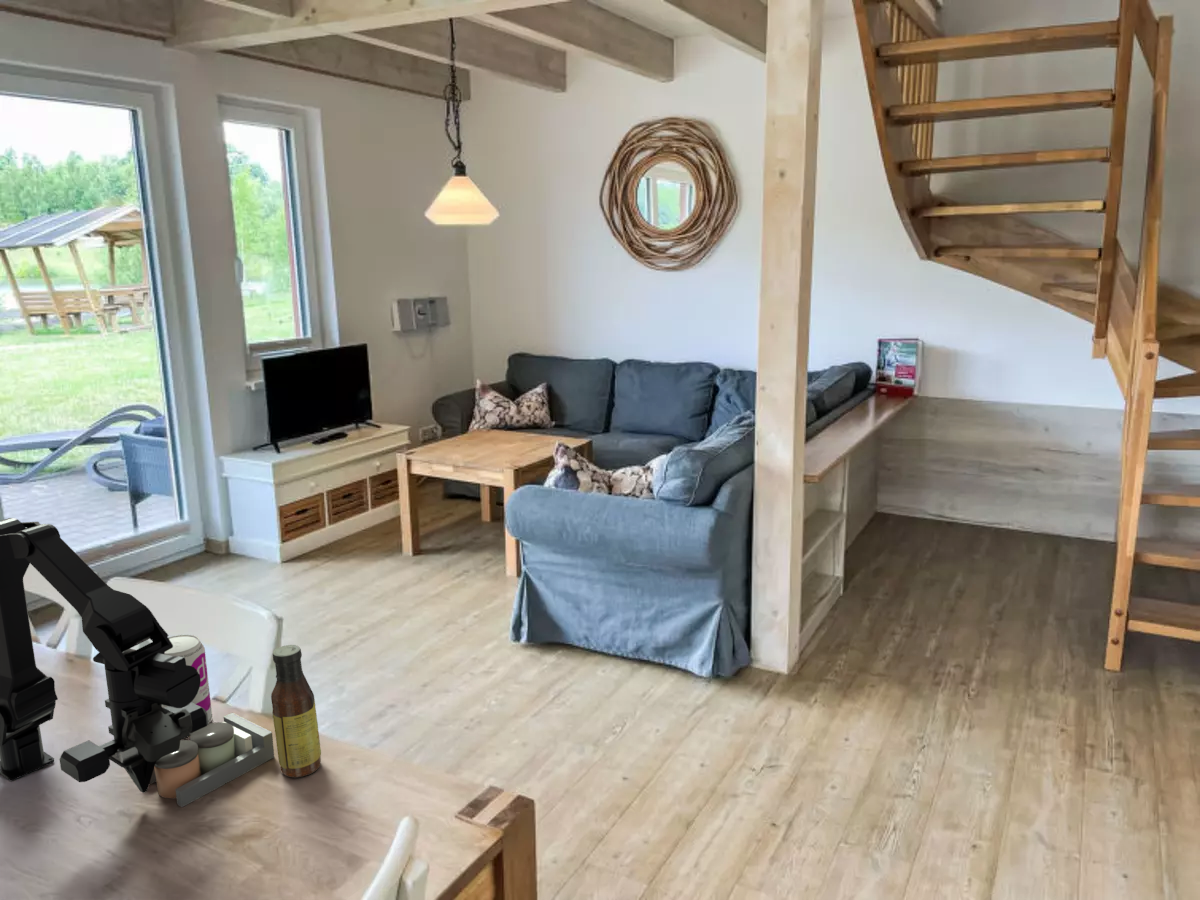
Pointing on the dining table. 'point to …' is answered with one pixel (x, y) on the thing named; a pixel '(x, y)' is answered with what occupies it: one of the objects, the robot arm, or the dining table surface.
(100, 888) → the dining table surface
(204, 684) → the supplement can
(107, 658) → the robot arm
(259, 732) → the lane
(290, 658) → the sauce bottle
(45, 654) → the dining table surface
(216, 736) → the jar sage
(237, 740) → the bar
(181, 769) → the jar terracotta
